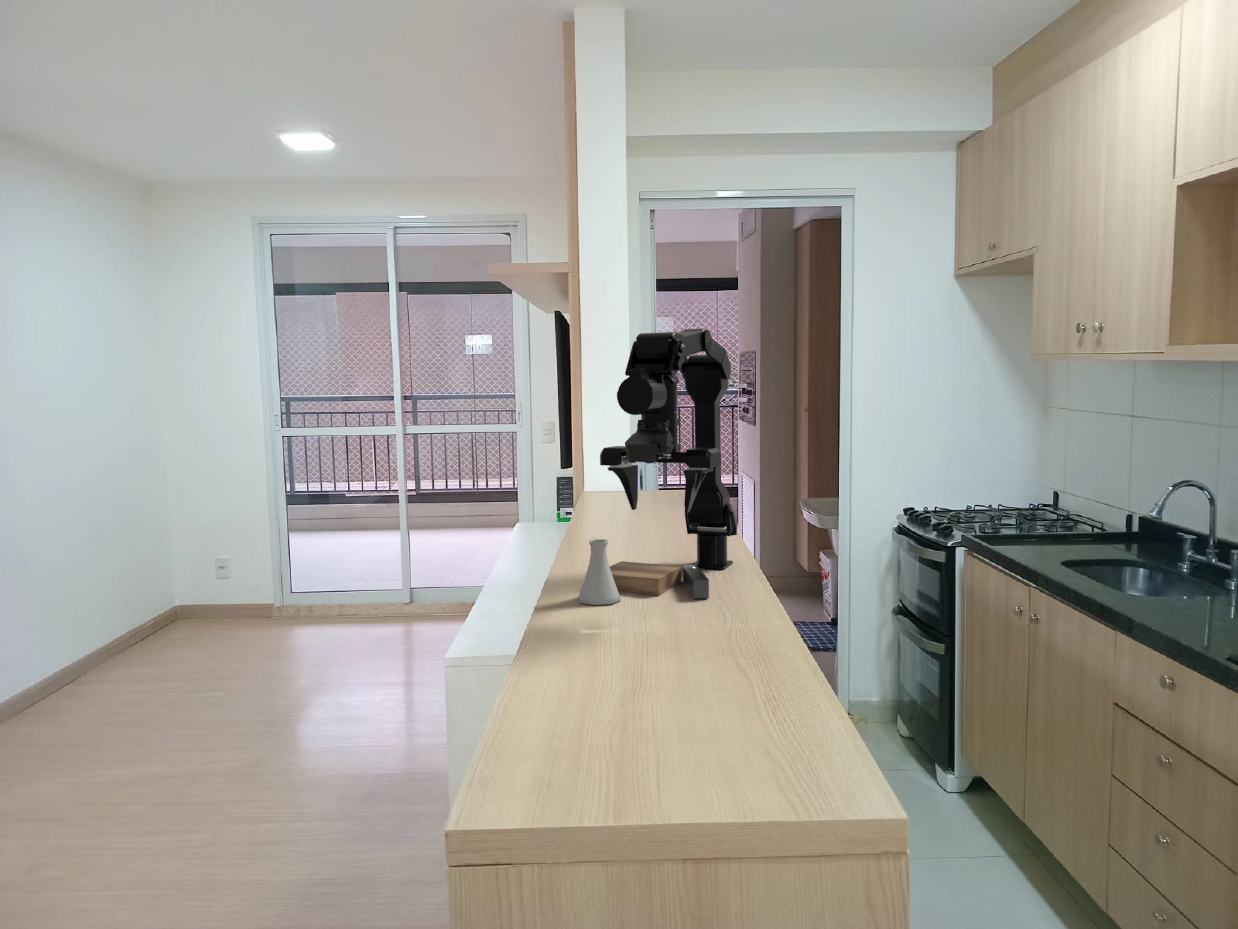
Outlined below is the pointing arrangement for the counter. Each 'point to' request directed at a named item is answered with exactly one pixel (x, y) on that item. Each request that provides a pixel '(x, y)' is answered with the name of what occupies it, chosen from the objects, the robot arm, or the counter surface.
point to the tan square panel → (645, 577)
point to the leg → (695, 581)
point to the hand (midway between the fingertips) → (660, 511)
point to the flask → (598, 577)
